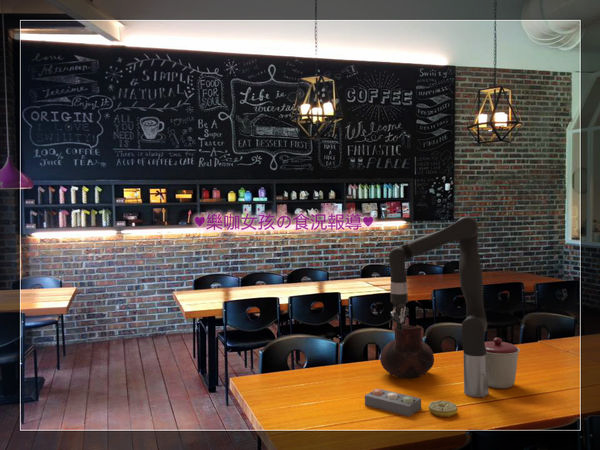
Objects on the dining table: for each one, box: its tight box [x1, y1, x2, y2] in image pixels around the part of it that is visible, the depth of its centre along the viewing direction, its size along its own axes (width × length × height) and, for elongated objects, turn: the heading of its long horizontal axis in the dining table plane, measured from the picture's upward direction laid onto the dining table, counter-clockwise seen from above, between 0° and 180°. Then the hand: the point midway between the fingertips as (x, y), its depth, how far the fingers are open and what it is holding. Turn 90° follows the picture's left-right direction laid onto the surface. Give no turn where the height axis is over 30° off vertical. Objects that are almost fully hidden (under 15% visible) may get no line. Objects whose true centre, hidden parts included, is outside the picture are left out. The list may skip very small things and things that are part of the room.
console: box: [364, 387, 422, 417], centre depth 212 cm, size 20×10×4 cm, turn 50°
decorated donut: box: [428, 400, 458, 418], centre depth 204 cm, size 10×11×4 cm
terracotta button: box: [372, 388, 382, 396], centre depth 216 cm, size 4×4×4 cm
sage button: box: [403, 395, 414, 404], centre depth 207 cm, size 4×4×4 cm
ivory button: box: [387, 392, 398, 400], centre depth 212 cm, size 4×4×4 cm
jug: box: [380, 323, 435, 379], centre depth 249 cm, size 25×25×25 cm
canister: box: [484, 337, 521, 390], centre depth 233 cm, size 18×18×21 cm
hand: (399, 330), depth 234 cm, fingers closed
